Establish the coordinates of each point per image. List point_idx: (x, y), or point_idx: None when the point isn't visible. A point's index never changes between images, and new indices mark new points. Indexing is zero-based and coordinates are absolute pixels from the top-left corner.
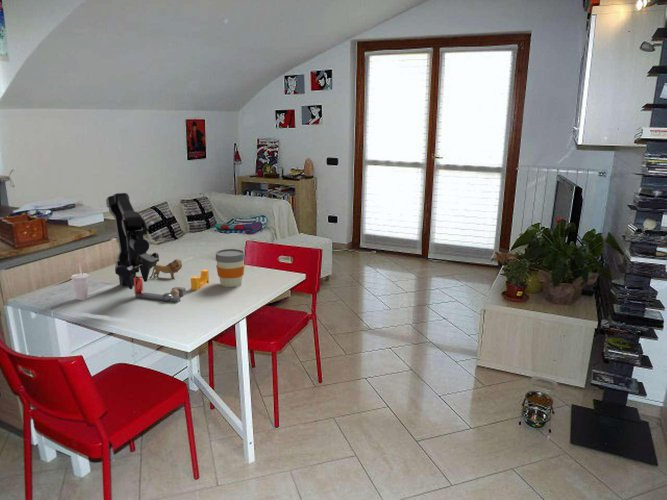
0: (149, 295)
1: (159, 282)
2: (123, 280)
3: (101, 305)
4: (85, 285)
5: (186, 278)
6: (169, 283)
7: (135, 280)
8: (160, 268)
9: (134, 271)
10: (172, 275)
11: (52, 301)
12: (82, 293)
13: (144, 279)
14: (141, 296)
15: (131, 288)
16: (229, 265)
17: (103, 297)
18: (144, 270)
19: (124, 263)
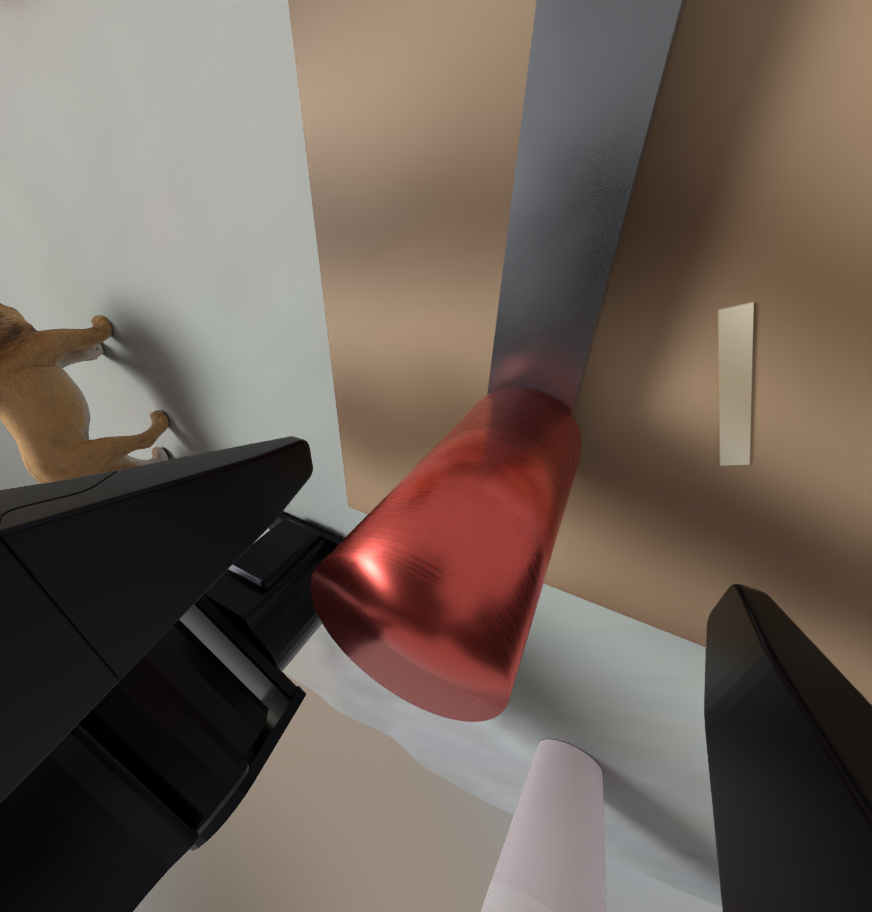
0: (626, 201)
1: (184, 399)
2: (313, 623)
3: None
4: (570, 894)
5: (36, 231)
6: (151, 314)
7: (521, 655)
8: (58, 443)
9: (198, 609)
10: (69, 334)
11: (632, 861)
12: (598, 828)
13: (283, 483)
14: (582, 378)
15: (775, 611)
16: None
17: (531, 672)
18: (87, 596)
19: (166, 811)
